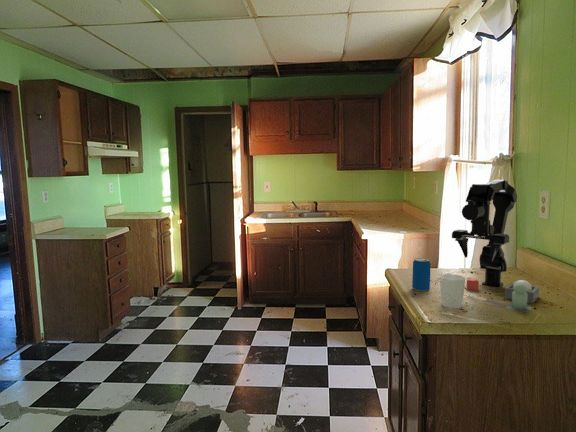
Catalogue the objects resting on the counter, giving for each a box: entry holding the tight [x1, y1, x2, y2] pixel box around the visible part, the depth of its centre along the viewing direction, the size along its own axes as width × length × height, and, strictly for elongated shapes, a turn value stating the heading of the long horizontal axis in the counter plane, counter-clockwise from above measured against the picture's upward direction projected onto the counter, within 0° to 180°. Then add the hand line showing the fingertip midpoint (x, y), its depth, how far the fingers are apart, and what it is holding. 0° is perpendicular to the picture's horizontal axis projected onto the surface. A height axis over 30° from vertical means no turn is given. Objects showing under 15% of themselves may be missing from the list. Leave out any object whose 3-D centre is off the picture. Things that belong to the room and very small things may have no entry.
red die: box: [466, 277, 480, 292], centre depth 160 cm, size 4×4×4 cm
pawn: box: [511, 284, 528, 310], centre depth 138 cm, size 4×4×8 cm
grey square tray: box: [504, 282, 540, 304], centre depth 149 cm, size 9×9×4 cm
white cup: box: [439, 273, 466, 309], centre depth 142 cm, size 8×8×10 cm
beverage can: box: [411, 257, 432, 292], centre depth 160 cm, size 6×6×12 cm
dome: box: [513, 279, 532, 292], centre depth 149 cm, size 6×6×6 cm
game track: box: [463, 294, 533, 313], centre depth 143 cm, size 6×20×1 cm, turn 49°
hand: (478, 259), depth 154 cm, fingers open, 9 cm apart
